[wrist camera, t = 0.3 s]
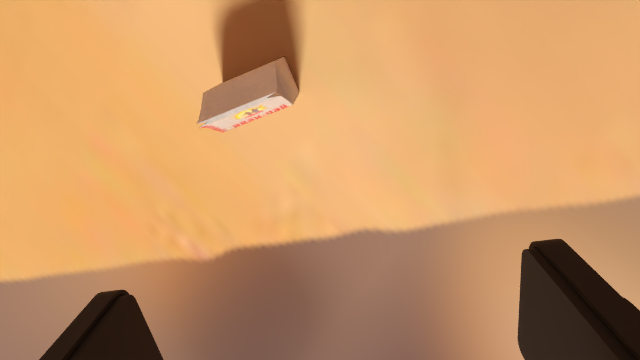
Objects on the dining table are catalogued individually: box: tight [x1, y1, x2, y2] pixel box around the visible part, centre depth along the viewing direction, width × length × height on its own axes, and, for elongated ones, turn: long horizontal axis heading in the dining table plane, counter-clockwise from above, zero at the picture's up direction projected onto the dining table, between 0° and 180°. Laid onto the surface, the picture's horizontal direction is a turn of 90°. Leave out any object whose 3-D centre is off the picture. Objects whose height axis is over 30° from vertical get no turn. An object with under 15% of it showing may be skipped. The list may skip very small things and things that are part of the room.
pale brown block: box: [197, 57, 299, 132], centre depth 32 cm, size 4×7×10 cm, turn 112°
